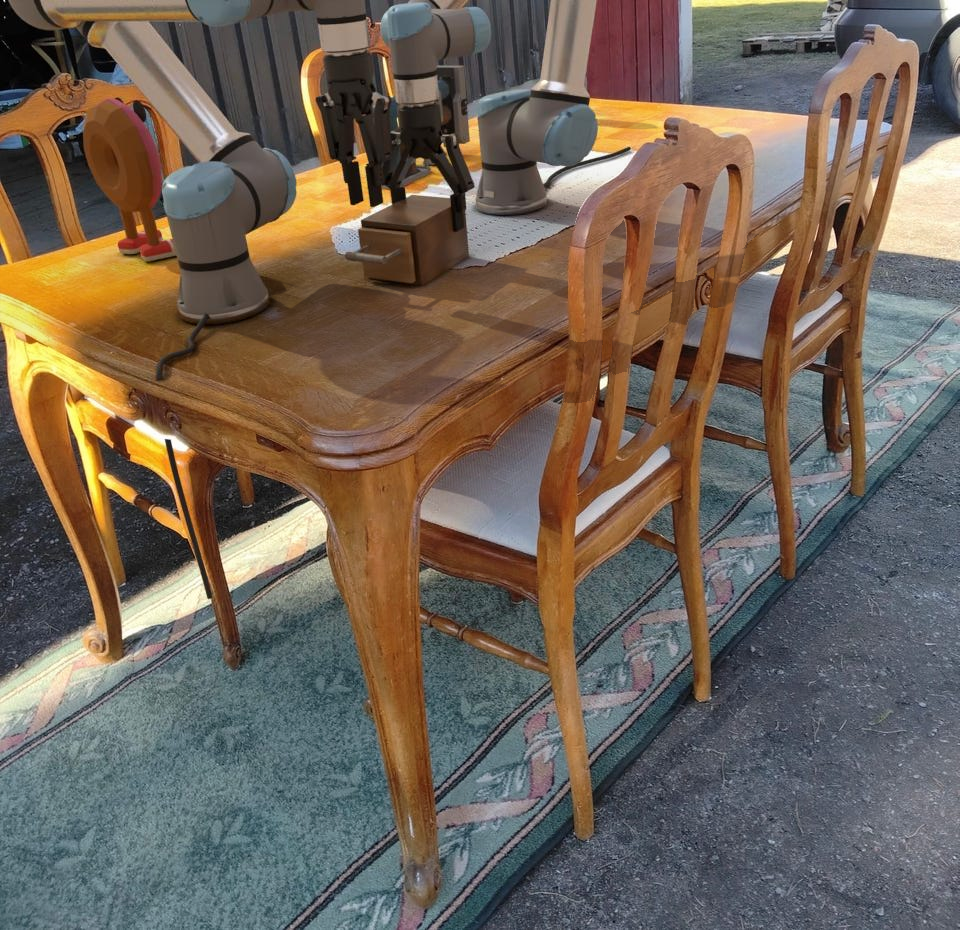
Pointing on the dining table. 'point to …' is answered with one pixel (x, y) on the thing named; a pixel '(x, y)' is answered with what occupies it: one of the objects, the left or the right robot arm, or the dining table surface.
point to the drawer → (385, 254)
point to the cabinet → (425, 233)
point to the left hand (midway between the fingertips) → (366, 203)
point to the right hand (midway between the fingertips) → (430, 226)
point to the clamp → (451, 116)
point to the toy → (127, 172)
